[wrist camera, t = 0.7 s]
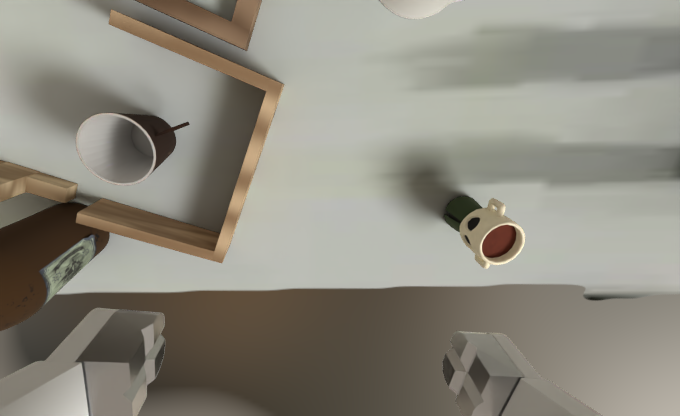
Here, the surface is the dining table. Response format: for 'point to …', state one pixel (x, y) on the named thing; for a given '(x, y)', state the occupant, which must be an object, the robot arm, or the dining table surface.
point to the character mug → (486, 230)
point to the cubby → (217, 244)
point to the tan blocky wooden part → (33, 184)
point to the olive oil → (43, 259)
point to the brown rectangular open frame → (213, 19)
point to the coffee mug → (124, 146)
